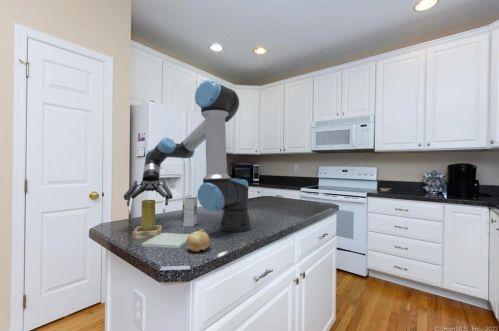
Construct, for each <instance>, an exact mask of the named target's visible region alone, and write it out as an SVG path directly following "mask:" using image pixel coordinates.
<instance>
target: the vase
mask: <svg viewBox="0 0 499 331" xmlns="http://www.w3.org/2000/svg"><path fill="white" fill-rule="evenodd" d="M140 226H141V231H156V200H155V199H145V200H141V219H140Z"/></svg>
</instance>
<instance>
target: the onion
mask: <svg viewBox="0 0 499 331" xmlns="http://www.w3.org/2000/svg"><path fill="white" fill-rule="evenodd" d="M189 234H190V235H189V236H188V238H187V240H186V243H185V244H186V246H187V249H188V250H189V251H191V252H195V253H199V252H201V251H205V250H207V248H208V247H209V245H210V243H211V238H210V236H209V234H208V233H207V232H206V231H205V229H202V228H201V227H200V228H199V230H197V231H196V230H195V231H192V233H189Z"/></svg>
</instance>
